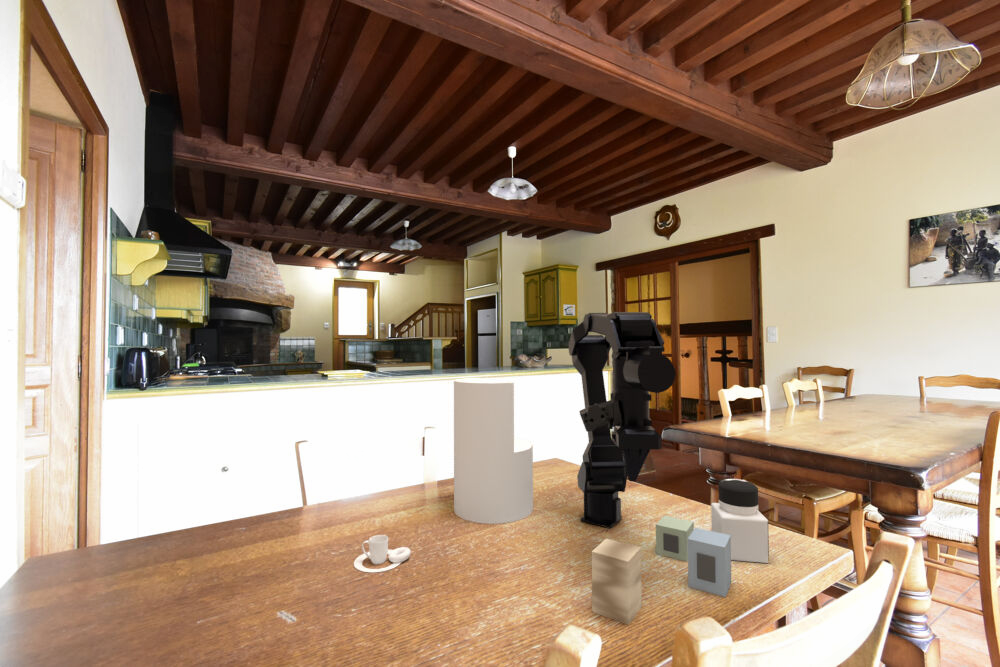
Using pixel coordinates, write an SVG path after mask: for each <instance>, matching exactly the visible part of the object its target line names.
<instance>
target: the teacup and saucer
mask: <svg viewBox="0 0 1000 667" xmlns="http://www.w3.org/2000/svg"><path fill="white" fill-rule="evenodd" d="M364 544H368V552H367V551H366V550H365V547H364ZM361 550H362V552H363V553H362V554H360V555H358V556H357V557H356V558H355V559H354V561H353V567H354V568H355V570H357V571H360V572H363V573H372V574H373V573H382V572H383V573H384V572H387V571H390V570H393V569H394V568H396V567H398V566H400V565H401V564H402V562H404V561H406V560H408V559H409V558H410V556H411V553H412V551H411V549H410V548H409V547H407V546H402V547H397V548H395V549H391V548H390V549H389V536H388V535H385V534H378V535H373V536H371V537H369V539H368V540H367V539H366V540H364V541H363V542H362V544H361ZM387 557H388V558H387ZM367 558H368V559H369V560H370V561H371V563H372V564H373V565H381V564H384V563H385V562H386V560H387V559H388V560H389V561H390V562H391V563H392V564H390V565H388V566H386V567H382V568H368V567H365V566H364V565H363V561H365V559H367Z"/></svg>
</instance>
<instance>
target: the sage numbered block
mask: <svg viewBox="0 0 1000 667" xmlns="http://www.w3.org/2000/svg"><path fill="white" fill-rule="evenodd" d="M694 526H695V522H694V521H692V520H687V519H682V518H678V517H673V516H668V515H663V516H662V517H661V519H660V520H658V521H657V523H655V554H657V555H660V556H664V557H668V558H672V559H675V560H680V561H683V562H688V538H689V536H690V535H691V533H692V532H693V530H694V529H695V527H694Z"/></svg>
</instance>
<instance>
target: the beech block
mask: <svg viewBox="0 0 1000 667" xmlns="http://www.w3.org/2000/svg"><path fill="white" fill-rule="evenodd" d="M642 594H643V593H642V547H640V546H636V545H632V544H628V543H627V542H626V543H625V542H622V541H618V540H614V539H611V538H605V539H604V540H603V541H602V542H601V543H599V544H598V545H597V546H596V547H595V548H593V550H592V551H591V602H592V603H591V605H592V606H591V612H592V613H594V614H596V615H597V614H598V615H600V616H603V617H605V618H608V619H611V620H613V621H616V622H619V623H622V624H625V625H627V626H629V625H630V624H631V623H632V622H633V620H634V618H635V617H636V615H637V614H638V613H639V612H640V610H641V609H642V601H643V600H642V598H643V597H642Z"/></svg>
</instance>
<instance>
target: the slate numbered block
mask: <svg viewBox="0 0 1000 667" xmlns="http://www.w3.org/2000/svg"><path fill="white" fill-rule="evenodd" d="M687 577H688V578H687V583H688V585H687V587H688V588H691V589H696V590H699V591H702V592H706V593H709V594H712V595H716V596H719V597H723V598H726V597H727V595H728V593H729V589H730V587H731V585H732V560H731V535H727V534H722V533H718V532H713V531H712V530H707V529H704V528H697V527H694V530H693V532H692V533H691V535H690V536H689V538H688V561H687Z"/></svg>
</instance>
